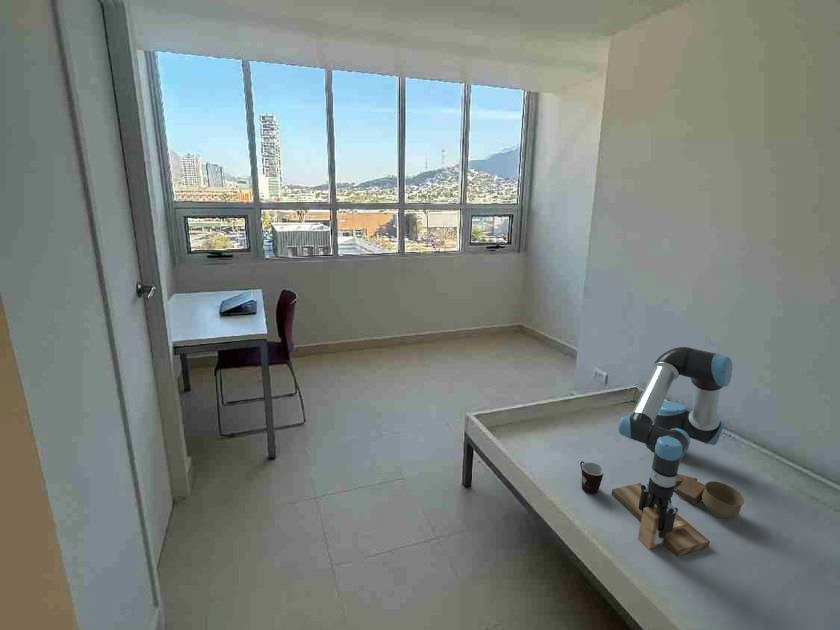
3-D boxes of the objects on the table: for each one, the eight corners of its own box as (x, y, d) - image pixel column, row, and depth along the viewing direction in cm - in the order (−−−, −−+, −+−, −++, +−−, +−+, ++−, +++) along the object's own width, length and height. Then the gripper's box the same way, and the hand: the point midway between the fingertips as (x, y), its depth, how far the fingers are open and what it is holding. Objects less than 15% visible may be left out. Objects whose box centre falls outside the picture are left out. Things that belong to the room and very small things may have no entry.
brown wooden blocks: (679, 481, 189) (717, 504, 172) (654, 483, 185) (691, 506, 168) (681, 465, 188) (720, 486, 171) (657, 466, 185) (694, 488, 167)
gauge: (676, 527, 159) (683, 496, 155) (688, 537, 155) (695, 506, 151) (637, 538, 154) (643, 506, 150) (648, 548, 150) (655, 516, 146)
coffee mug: (602, 497, 174) (606, 476, 171) (580, 494, 176) (583, 473, 173) (597, 479, 185) (600, 459, 182) (576, 476, 187) (579, 456, 184)
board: (639, 487, 180) (640, 482, 179) (708, 546, 151) (710, 540, 150) (611, 494, 176) (612, 489, 175) (677, 556, 147) (678, 550, 146)
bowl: (728, 530, 158) (734, 508, 155) (692, 508, 169) (697, 487, 166) (745, 518, 164) (751, 496, 161) (710, 498, 175) (715, 477, 172)
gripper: (633, 466, 153) (623, 520, 159) (675, 501, 136) (663, 559, 143) (650, 463, 155) (640, 516, 161) (694, 496, 138) (681, 554, 145)
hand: (651, 536), depth 152 cm, fingers closed on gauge, 5 cm apart
